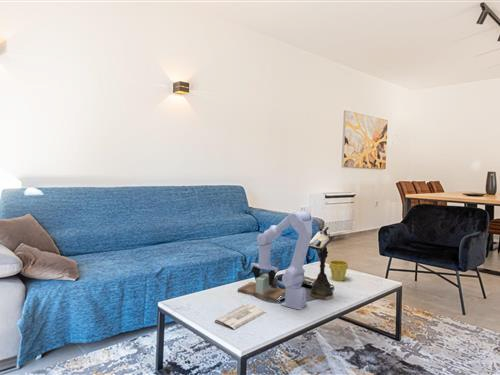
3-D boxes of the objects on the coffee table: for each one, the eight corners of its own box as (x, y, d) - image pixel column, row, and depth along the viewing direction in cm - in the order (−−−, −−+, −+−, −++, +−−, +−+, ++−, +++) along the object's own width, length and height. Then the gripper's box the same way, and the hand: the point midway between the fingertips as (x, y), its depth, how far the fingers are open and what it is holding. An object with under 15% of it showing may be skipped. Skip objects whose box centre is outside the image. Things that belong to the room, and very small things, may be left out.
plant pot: (325, 277, 208) (325, 260, 207) (341, 275, 211) (341, 259, 210) (334, 282, 198) (335, 265, 198) (350, 281, 201) (351, 264, 201)
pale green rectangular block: (271, 288, 183) (271, 275, 182) (262, 294, 175) (262, 280, 175) (264, 287, 185) (264, 273, 184) (255, 292, 177) (255, 278, 177)
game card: (257, 273, 192) (272, 271, 195) (253, 273, 196) (267, 271, 200) (258, 286, 190) (273, 283, 194) (254, 286, 195) (269, 284, 198)
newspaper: (244, 306, 166) (245, 301, 165) (265, 316, 158) (266, 311, 158) (209, 322, 148) (210, 317, 148) (232, 335, 140) (232, 329, 140)
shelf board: (288, 293, 182) (288, 279, 181) (276, 301, 171) (276, 286, 170) (251, 284, 193) (251, 271, 193) (237, 291, 182) (238, 278, 182)
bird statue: (316, 305, 167) (319, 230, 164) (297, 296, 178) (299, 226, 175) (340, 298, 176) (343, 227, 174) (321, 289, 187) (324, 223, 184)
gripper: (281, 257, 179) (280, 284, 180) (256, 253, 186) (255, 278, 187) (274, 260, 173) (273, 288, 174) (249, 256, 180) (248, 282, 181)
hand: (263, 283), depth 180 cm, fingers open, 7 cm apart
